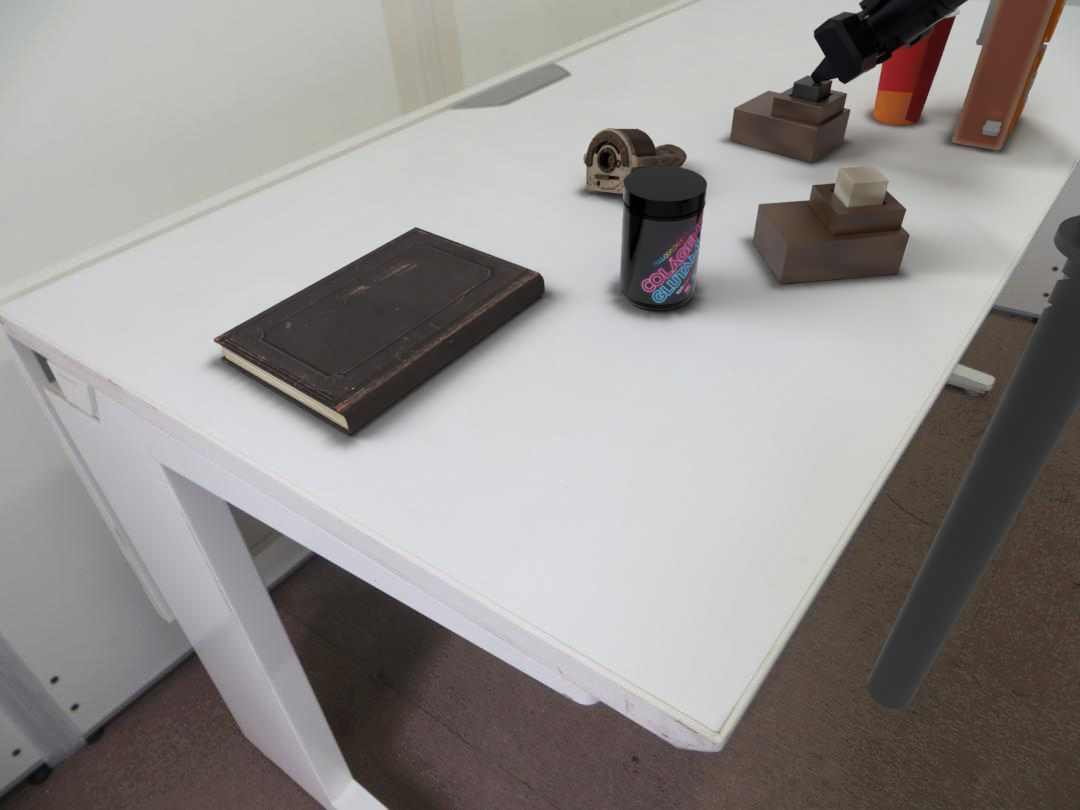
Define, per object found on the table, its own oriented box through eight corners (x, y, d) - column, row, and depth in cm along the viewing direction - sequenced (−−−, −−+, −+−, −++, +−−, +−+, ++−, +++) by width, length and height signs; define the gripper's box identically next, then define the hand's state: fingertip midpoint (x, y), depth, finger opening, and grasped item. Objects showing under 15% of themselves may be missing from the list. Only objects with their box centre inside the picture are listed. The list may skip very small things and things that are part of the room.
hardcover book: (221, 361, 62) (213, 338, 61) (418, 247, 76) (415, 226, 74) (352, 438, 55) (345, 414, 53) (545, 296, 68) (544, 274, 67)
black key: (828, 103, 89) (832, 80, 87) (814, 110, 87) (819, 87, 85) (803, 97, 91) (807, 75, 89) (789, 104, 89) (793, 82, 87)
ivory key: (866, 192, 70) (873, 165, 68) (881, 207, 67) (889, 180, 65) (832, 194, 69) (838, 167, 68) (846, 210, 67) (853, 182, 65)
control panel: (1023, 115, 97) (1004, 156, 88) (964, 106, 100) (940, 145, 91) (1098, -82, 83) (1085, -58, 74) (1027, -85, 86) (1005, -63, 77)
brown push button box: (860, 233, 75) (876, 175, 71) (898, 274, 69) (917, 213, 65) (752, 241, 74) (761, 183, 71) (780, 284, 68) (792, 223, 64)
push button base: (843, 142, 92) (854, 91, 88) (811, 163, 88) (821, 111, 84) (763, 121, 98) (771, 73, 94) (729, 140, 94) (736, 90, 90)
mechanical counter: (561, 129, 84) (599, 140, 76) (662, 99, 87) (710, 106, 78) (573, 193, 88) (611, 210, 79) (669, 162, 90) (716, 175, 82)
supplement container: (622, 315, 65) (627, 203, 59) (615, 275, 71) (619, 167, 64) (700, 312, 65) (715, 199, 59) (687, 272, 71) (699, 164, 64)
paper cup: (915, 106, 101) (949, -12, 91) (937, 127, 95) (974, 4, 86) (855, 107, 101) (883, -10, 92) (873, 129, 95) (904, 6, 86)
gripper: (938, -103, 78) (817, 0, 91) (855, -76, 68) (733, 35, 81) (991, -8, 79) (864, 80, 92) (916, 32, 69) (786, 125, 82)
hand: (813, 78), depth 87 cm, fingers closed, pressing on black key
